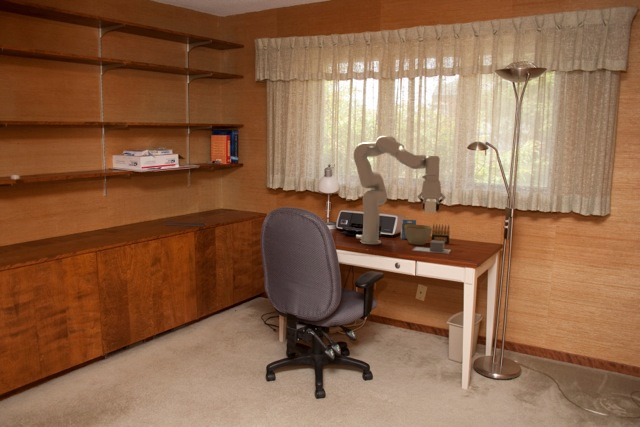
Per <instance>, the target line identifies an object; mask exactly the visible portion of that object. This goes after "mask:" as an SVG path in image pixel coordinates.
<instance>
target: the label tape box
mask: <svg viewBox="0 0 640 427" xmlns="http://www.w3.org/2000/svg"><path fill="white" fill-rule="evenodd" d="M406 225H417V219H402V223H401V225H400V239H401V240H408V239H407V237H406V235H405V226H406Z"/></svg>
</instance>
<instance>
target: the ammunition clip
mask: <svg viewBox="0 0 640 427" xmlns="http://www.w3.org/2000/svg"><path fill="white" fill-rule="evenodd" d="M450 232H451V231H450V224H446V223H445V224H443V223H442V224H441V223H433V224H432V230H431V240H430V242H431V241H432V240H436V241H445V245H450Z"/></svg>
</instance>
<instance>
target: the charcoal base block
mask: <svg viewBox="0 0 640 427" xmlns="http://www.w3.org/2000/svg"><path fill="white" fill-rule="evenodd" d="M445 245H446V244H445V241H436V240H432V241H431V240H430V243H429V248H430V251H435V252H443V251H444V249H445ZM435 252H434V253H435Z"/></svg>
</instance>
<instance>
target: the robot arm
mask: <svg viewBox="0 0 640 427" xmlns="http://www.w3.org/2000/svg"><path fill="white" fill-rule="evenodd" d="M384 154H387V155H389V156H391V157H393V158H395V159H396V160H397V161H398V162H399V163H401V164H402V165H403V166H406V167H408V168H410V169H414V170H420V169H421V170H422V169H425V170H424V173H425V174H424V175H422V179H424V180H423V181H422V186H421V188H422V189H421V192H420V193H419V194H418V195H416V196H417V199H418V200H420V201H421V203H422V209H423V211H424V212H425V202H426V201H428V200H435V201H436V202H437V204H436V211H437V212H439V210H440V204H441V203H442V201H444V200H446V196H445V195H444V194H443V192H442V186H441V184H442V183H441V181H440V156H438V155H425V154H424V155H423V154H417V155H416V154H414V153H411V152H409V151H407V150H406V149H405V145H404V144H402V143H400V142H398V141H397V139H396V138H395V137H393V136H391V135H380V136H379V137H377V139H376V141H373V142H369V141H368V142H367V141H365V142H361V143H358V145H357V146H355V148H354V151H353V159H354V160H353V161H354V163H355V166H356V167H355V168H356V170H357V174H358V178H359V182H360V185H361V186H362V188H363V189H370V190H367V191H365V193H364V194H363V195H362V206H363V217H362V218H363V220H362V221H363V224H362V234H356V235H355V238H356V239H360V240H359V243H360V242H361V244H363V245H379V244H381V243H382V241H381V240H380V239H379V236H380V231H379V230H380V209H379V208H380V207H379V206H382V205H384V204H385V203H387V200H388V194H387V189H386V186H385V182H384V179H383V177H382V175H381V174H380V173H378V172H376V171H373V168H372V165H371V162H370V161H369V159H368V158H371V157H373V158H374V157H378V156H381V155H384Z"/></svg>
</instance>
